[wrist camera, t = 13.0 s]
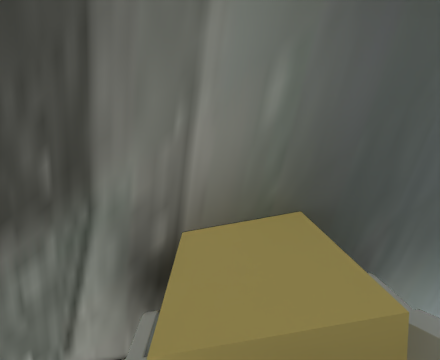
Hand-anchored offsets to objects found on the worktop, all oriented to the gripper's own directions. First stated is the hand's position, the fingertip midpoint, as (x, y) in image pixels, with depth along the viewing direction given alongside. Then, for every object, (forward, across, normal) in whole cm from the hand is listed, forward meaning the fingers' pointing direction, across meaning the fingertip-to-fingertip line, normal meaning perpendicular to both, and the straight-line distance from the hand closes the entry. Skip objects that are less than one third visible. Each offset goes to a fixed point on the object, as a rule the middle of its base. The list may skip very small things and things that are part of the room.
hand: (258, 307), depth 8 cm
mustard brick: (+2, 0, 0) cm, 2 cm away
